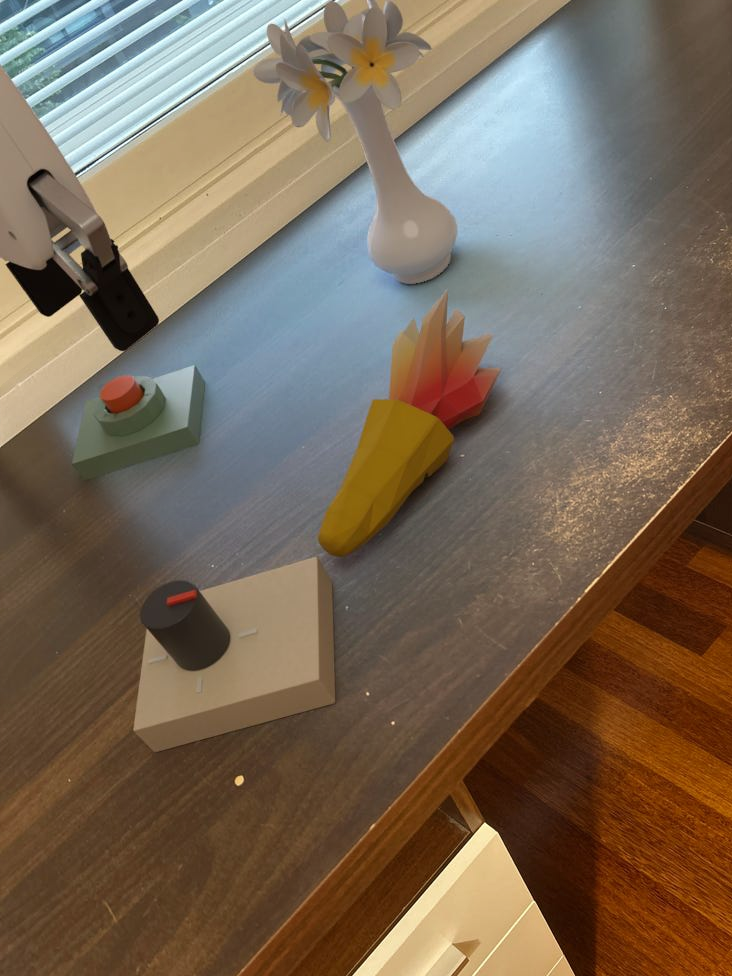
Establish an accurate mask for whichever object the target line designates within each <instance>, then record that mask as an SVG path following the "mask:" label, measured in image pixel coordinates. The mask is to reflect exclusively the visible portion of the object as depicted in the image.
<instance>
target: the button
mask: <svg viewBox="0 0 732 976" xmlns="http://www.w3.org/2000/svg"><path fill="white" fill-rule="evenodd" d="M133 377H134V376H132V375H129V374H128V375H120V376H118V377H115V378H113V379H112V380H110V381H109V382H107V383H106V384H105V385H104V386H103V387H102V388H101V390H100V392H99V396H100V397H101V399H102V400H103V402H104V403H105V405H106V406H107V407H108V409H109V410H110V412H111V413H114V414H117V413H120V412H124V411H127V410H129V409H130V408H132V407H133V406H135V405H136V404H138V402H139V401H140V400H141V399H142V398H143V396H144V393H143V391H142V390H141V388H140V387H139V385H138V384H137V382H136V381H135V379H134V378H133Z"/></svg>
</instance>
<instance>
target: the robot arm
mask: <svg viewBox="0 0 732 976" xmlns="http://www.w3.org/2000/svg"><path fill="white" fill-rule="evenodd" d="M67 228H68V230H69V231H67V233H65V234H64V235H62V236H61V237H60V238H58V239H57V240H55V241H53V238H54V237H56V236H58V235H59V234H60V233H61V232H63V231H64V230H65V229H67ZM80 247H83V248H84V250H83V251H81V252H80V257H81V265H82V266H81V265H80V264H79V263H78V262H77V261H76V260H75V259H74V258H73V257H72V255H70V254H72V253H73V252H75V251H76V250H77V249H79V248H80ZM0 259H2V260H3V261H5V262H7V263H5V266H6V268H7V269H8V270H9V272H10V273H11V275H12V276H13V277H14V279H15V280H16V282H17V283H18V284H19V286H20V288H21V289H22V290H23V291H24V293H25V294H26V295H27V297H28V298H29V300H30V301H31V303H32V304H33V305H34V307H35V308H36V310H37V311H38V312H39V313H40V315H42V316H44V317H47V318H49V317H52V316H53V315H55V314H56V313H57V312H59V311H60V310H61V309H63V308H64V307H65V306H66V305H68V304H69V303H70V302H72V301H73V300H75V299H76V298H77V297H78V296H79V298H80V300H82V302H83V304H84V306H85V307H86V308H87V309H88V311H89V313H90V314H91V316H92V317H93V318H94V320H95V321H96V324H97V325H98V326H99V328H100V329H101V331H102V332H103V333H104V334H105V336H106V338H107V339H108V340H109V342H110V344H111V345H112V346H113V348H114V349H115V350H118V351H120V352H126V351H127V350H128V349H130V348H131V347H132V346H133V345H135V344H136V343H137V342H138V341H140V340H141V339H142V338H143V337H145V336H146V335H147V334H149V333H150V332H151V331H153V330H154V328H156V327H157V326H158V325H159V322H160V319H159V316H158V315H157V313H156V311H155V310H154V308H153V307H152V305H151V303H150V302H149V300H148V299H147V297H146V295H145V293H144V292H143V290H142V288H141V287H140V285H139V284H138V282H137V280H136V278H134V276H133V274H132V272H131V271H130V269H129V266H128V263H127V261H126V260H125V258H124V257H123V256H122V255H121V254H120V251H119V246H118V244H115V240H114V239H112V238H111V237H110V234H109V232H108V229H107V226H106V223H105V222H104V219H103V218H102V217H101V216H100V215H99V214H98V213H97V211H96V209H95V207H94V204H93V203H92V200H91V199H90V197H89V196H88V193H87V192H86V190H85V189H84V187H83V185H82V183H81V182H80V180H79V178H78V177H77V175H76V174H75V172H74V170H73V168H72V167H71V166H70V164H69V163H68V161H67V160H66V158H65V156H64V154H63V153H62V152H61V150H60V148H59V147H58V145H57V144H56V142H55V140H54V139H53V138H52V136H51V135H50V133H49V131H47V128H46V127H45V126H44V124H43V123H42V121H41V120H40V118H39V117H38V115H37V114H36V112H35V111H34V110H33V108H32V107H31V105H30V104H29V102H28V101H27V100H26V98H25V97H24V95H23V94H22V92H21V91H20V89H19V87H18V86H17V85H16V84H15V82H14V81H13V80H12V78H11V76H10V75H9V74H8V73H7V71H6V70H5V69H4V67H3V66H2V64H1V63H0Z"/></svg>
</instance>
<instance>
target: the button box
mask: <svg viewBox="0 0 732 976" xmlns="http://www.w3.org/2000/svg"><path fill="white" fill-rule="evenodd" d="M132 377H133V378H134V379H135V381H136V382H137V384H138V385H139V387H140V388H141V390H142V391H143V393H144V396H143V398H142V399H141V400H140V401H139V402H138V404H136V405H135V406H133V407H132V408H130V409H129V410H127V411H124V412H120V413H117V414H114V413H111V412H110V410H109V409H108V407H107V406H106V405H105V403H104V402H103V400H102V399H101V397H100V395H99V396H96V397H93V398H90V399H87V400H86V401H85V404H84V408H83V413H82V417H81V421H80V425H79V430H78V434H77V439H76V443H75V447H74V451H73V456H72V459H71V460H72V461H71V465H72V467H73V468H74V469H75V471H76V472H77V473H78V474H79V476H80V477H81V478H82V480H83V481H88V480H92V479H94V478H98V477H100V476H103V475H106V474H107V475H108V474H109V473H113V472H116V471H119V470H122V469H126V468H129V467H132V466H134V465H138V464H142V463H144V462H147V461H150V460H153V459H156V458H160V457H163V456H167V455H170V454H173V453H176V452H179V451H182V450H185V449H187V448H191V447H195V446H198V445H199V444H200V437H201V427H202V426H201V425H202V417H203V408H204V399H205V390H206V389H205V388H206V381H205V378H204V377H203V375H202V374H201V373H200V371H199V369H198V368H197V366H196V364H193V365H190V366H186V367H183V368H180V369H178V370H174V371H171V372H168V373H166V374H162V375H159V376H157V377H154V378H152V377H151V376H145V375H144V376H142V375H136V376H132Z"/></svg>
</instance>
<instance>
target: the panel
mask: <svg viewBox="0 0 732 976" xmlns="http://www.w3.org/2000/svg"><path fill="white" fill-rule="evenodd" d="M199 591H200V593H201V594H202V595H203V596H204V598H205V599H206V600H207V602H208V603H209V604H210V606H211V607H212V608H213V610H214V611H215V612H216V614H217V615H218V616H219V618H220V619H221V620H222V622H223V623H224V624H225V626H226V627H227V628H228V630H229V632H230V643H229V646H228V648H227V650H226V651H225V653H224V654H223V655H222V657H221V658H220V659H219V660H217V661H216V662H215V663H213V664H212V665H210V666H208V667H206V668H204V669H201V670H195V671H189V670H185V669H183V668H181V667H179V666H178V664H177V663H176V662H175V661H174V660H173V659H172V657H171V656H170V655H169V654H168V653H167V652H166V650H165V649H164V648H163V647H162V646H161V644H160V643H159V642H158V641H157V640H156V639H155V637H154V636H153V635H152V634H151V633H150V632H149V630H148V629H147V628H146V631H145V637H144V646H143V654H142V660H141V661H142V662H141V669H140V676H139V684H138V691H137V692H138V693H137V698H136V706H135V713H134V722H133V729H132V730H133V732H134V733H135V734H136V735H137V737H139V738H140V739H141V741H143V742H144V743H145V745H146V746H148V747H149V748H150V750H152V751H153V752H154V753H158V752H162V751H165V750H169V749H174V748H177V747H180V746H184V745H187V744H192V743H196V742H199V741H202V740H205V739H209V738H213V737H217V736H220V735H224V734H229V733H231V732H235V731H239V730H242V729H246V728H250V727H253V726H257V725H261V724H264V723H268V722H272V721H276V720H279V719H282V718H287V717H290V716H294V715H297V714H301V713H305V712H308V711H311V710H312V711H313V710H316V709H319V708H322V707H323V708H324V707H326V706H330V705H334V704H336V679H335V677H336V675H335V673H336V672H335V639H334V638H335V637H334V601H333V599H334V598H333V597H334V596H333V581H332V579H331V577H330V575H329V574H328V572H327V570H326V568H325V567H324V566H323V563H322V562H321V560H320V559H319V557H318V556H313V557H310V558H307V559H303V560H300V561H297V562H293V563H290V564H287V565H283V566H280V567H276V568H273V569H269V570H267V571H263V572H260V573H256V574H253V575H249V576H246V577H243V578H240V579H236V580H233V581H229V582H226V583H222V584H219V585H216V586H212V587H209V588H206V589H202V590H199Z"/></svg>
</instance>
